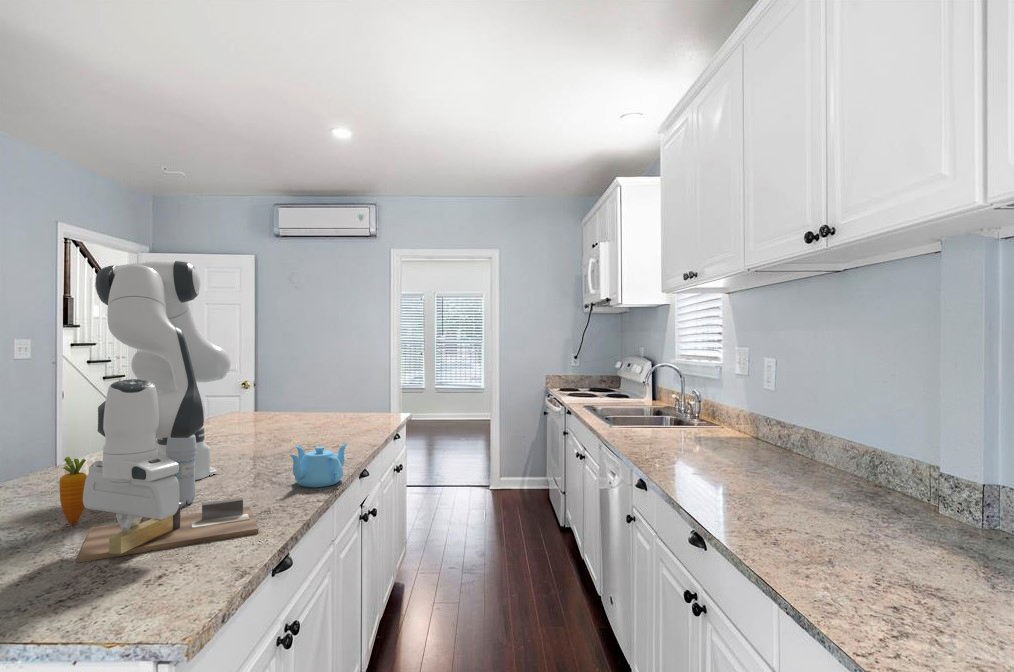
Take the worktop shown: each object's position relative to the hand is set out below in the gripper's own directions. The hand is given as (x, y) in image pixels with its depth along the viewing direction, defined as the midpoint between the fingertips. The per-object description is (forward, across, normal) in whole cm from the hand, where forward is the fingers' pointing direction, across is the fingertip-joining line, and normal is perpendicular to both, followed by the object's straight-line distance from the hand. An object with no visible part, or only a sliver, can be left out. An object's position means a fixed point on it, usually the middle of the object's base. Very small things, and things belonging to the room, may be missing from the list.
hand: (129, 535), depth 104 cm
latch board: (+3, +1, +10) cm, 10 cm away
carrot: (+3, -24, +7) cm, 25 cm away
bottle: (+4, -15, +26) cm, 30 cm away
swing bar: (+1, +2, +3) cm, 4 cm away
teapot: (+3, +4, +53) cm, 54 cm away
